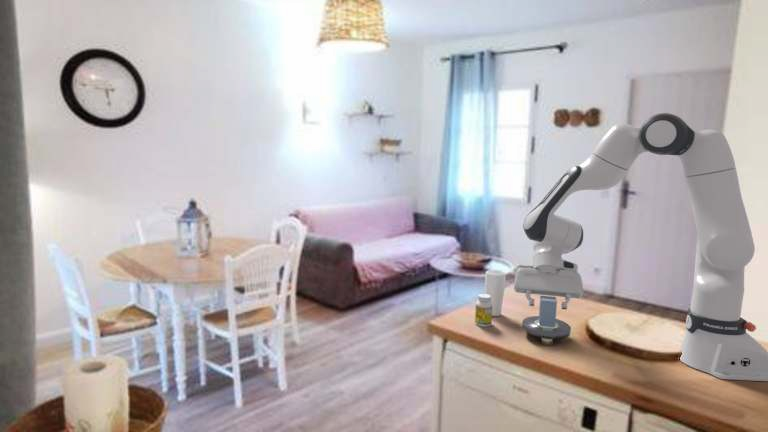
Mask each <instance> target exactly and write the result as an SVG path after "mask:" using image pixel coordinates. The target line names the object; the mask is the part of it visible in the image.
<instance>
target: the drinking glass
mask: <svg viewBox="0 0 768 432" xmlns="http://www.w3.org/2000/svg"><path fill="white" fill-rule="evenodd" d="M506 275H507V273H506V272H505V271H503V270H498V269H488V270H486V271H485V275H484V276H485V278H484V290H485V291H484V292H485V293H484V294H487V295H490V296H491V301H490V302H491V303H492V305H493V307H492V317H500V316H501V315H502V308H503V301H504V296H505V295H504V294H505V290H506V289H505V288H506V282H507V281H506V279H507V277H506Z"/></svg>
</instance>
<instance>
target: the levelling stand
mask: <svg viewBox="0 0 768 432" xmlns="http://www.w3.org/2000/svg"><path fill="white" fill-rule="evenodd" d="M521 325H522V326H521V327H522V329H523V331H524V332H525V333H526V334H527V335H531V336H534V337H539V338H541V339H540V343H541V344H542V345H543V346H547V347H549V346H553V342H554V341H553V340H557V339H558V340H559V339H566V338H567V337H569V336H570V335H571V329H572V328H571V327H572V326H571V325H569V323H567V322H565V321H563V320H561V319H558V318H556V320H555V327H548V326H539V315H537V316H536V315H535V316H527V317H525V318H523V319H522V323H521Z"/></svg>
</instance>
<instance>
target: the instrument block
mask: <svg viewBox="0 0 768 432" xmlns="http://www.w3.org/2000/svg"><path fill="white" fill-rule="evenodd" d="M557 306H558V301H557V296H549V295H539V308H538V309H539V310H538V316H539V326H548V327H555V320H556V319H557V318H556V317H557Z"/></svg>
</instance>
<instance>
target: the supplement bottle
mask: <svg viewBox="0 0 768 432" xmlns="http://www.w3.org/2000/svg"><path fill="white" fill-rule="evenodd" d="M490 301H491V296H490V295H487V294H485V293H480V294H478V295H477V301H476V302H475V312H474V313H475V314H474V315H475V316H474V317H475V318H474V324H475V325H476V326H479V327H490V326H491V325H492V323H493V322H492V321H493V316H492V307H493V305H492V303H491V302H490Z"/></svg>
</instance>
